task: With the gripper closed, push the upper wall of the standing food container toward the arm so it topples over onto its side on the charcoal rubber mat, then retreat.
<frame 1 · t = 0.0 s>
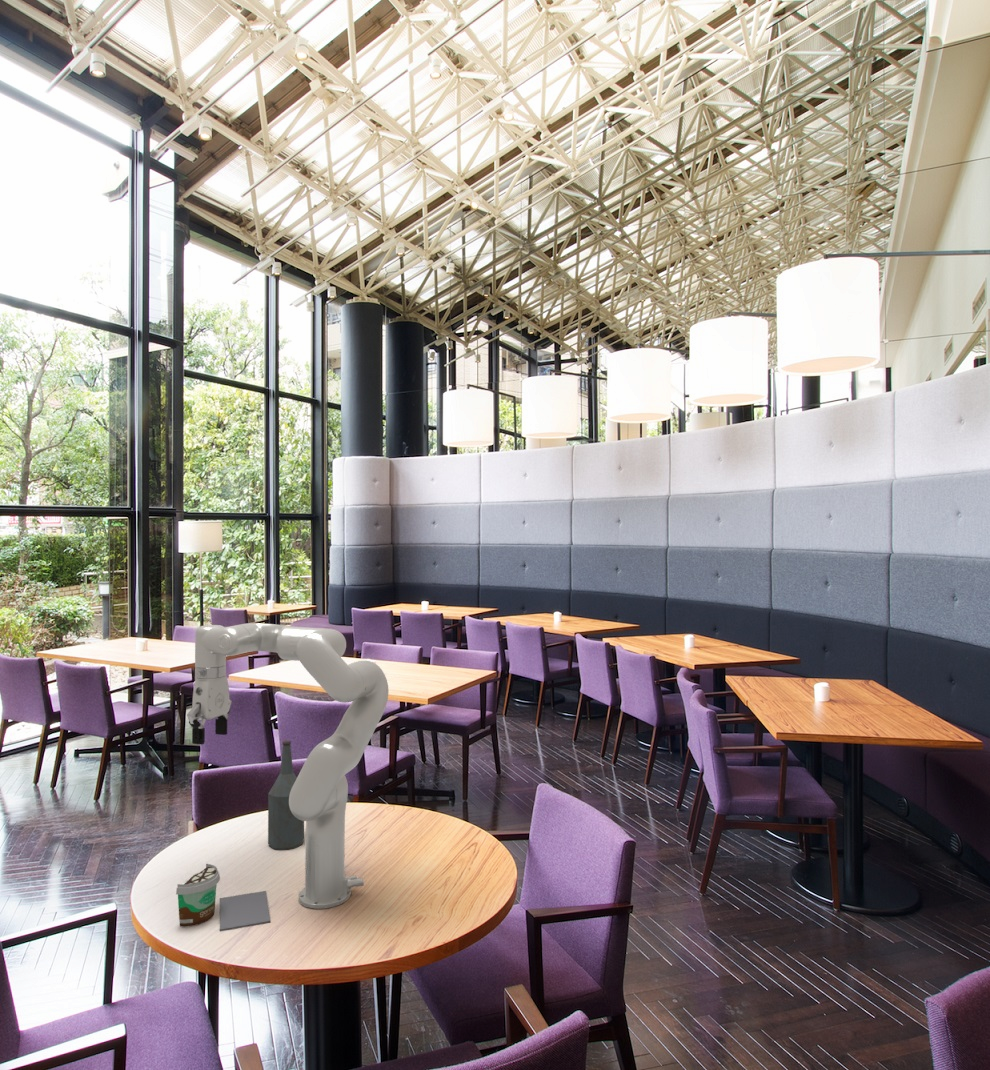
hand: (210, 738, 190), 37 cm above the table, tool pointing down, fingers open, 9 cm apart
food container: (203, 918, 172), on the table
mat: (244, 910, 175), on the table
bottle: (286, 844, 215), on the table
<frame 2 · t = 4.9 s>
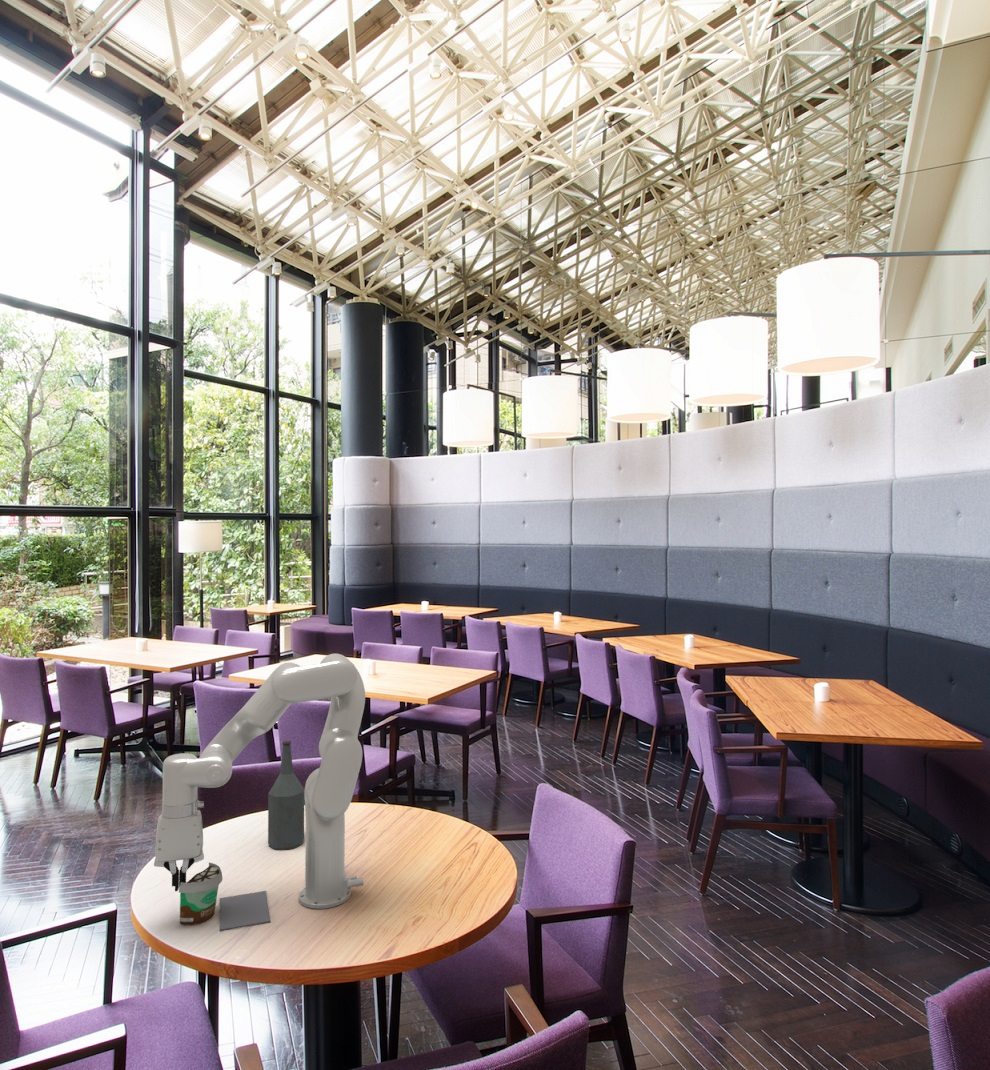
hand: (178, 888, 170), 8 cm above the table, tool pointing down, fingers closed
nothing on the table moved.
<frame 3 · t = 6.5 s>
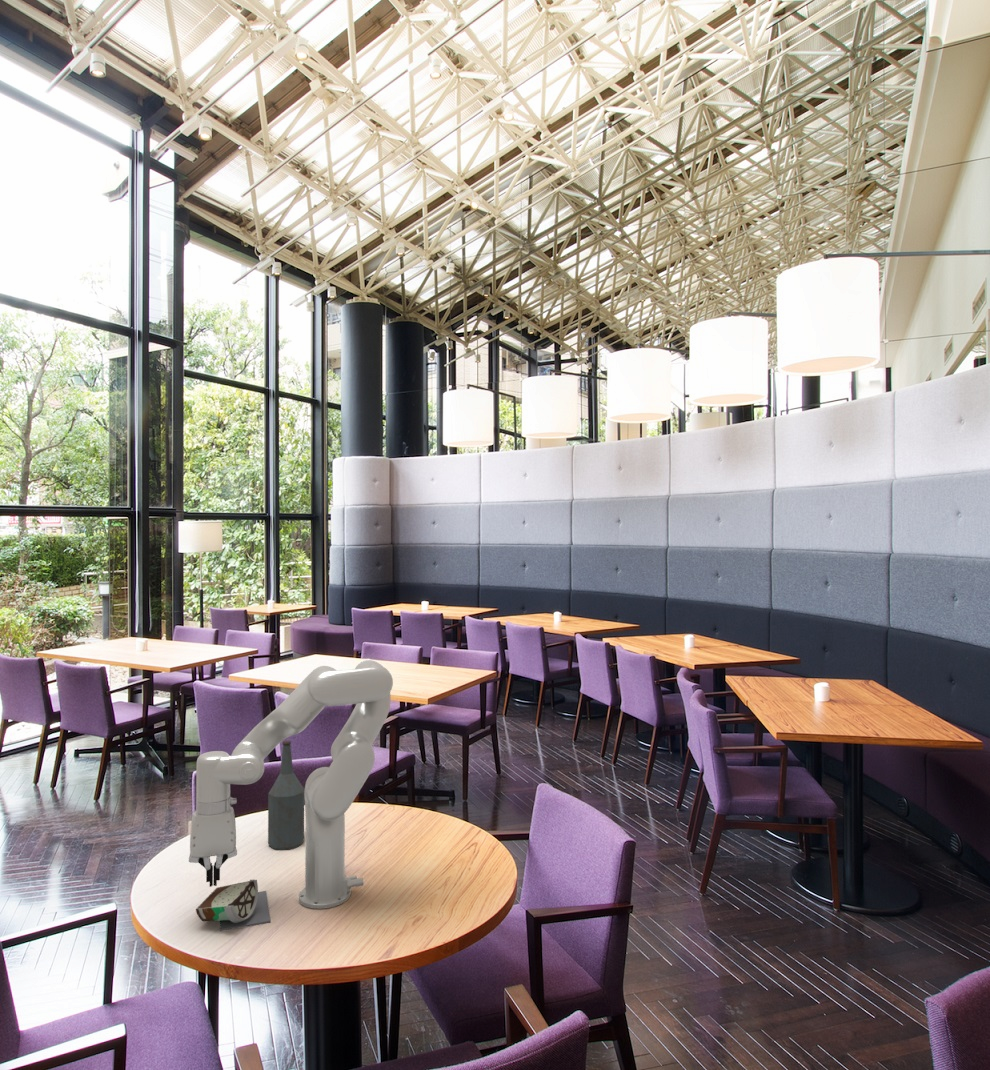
hand: (213, 883, 173), 8 cm above the table, tool pointing down, fingers closed
food container: (208, 910, 172), point 2 cm above the table, touching mat
everything else where it was.
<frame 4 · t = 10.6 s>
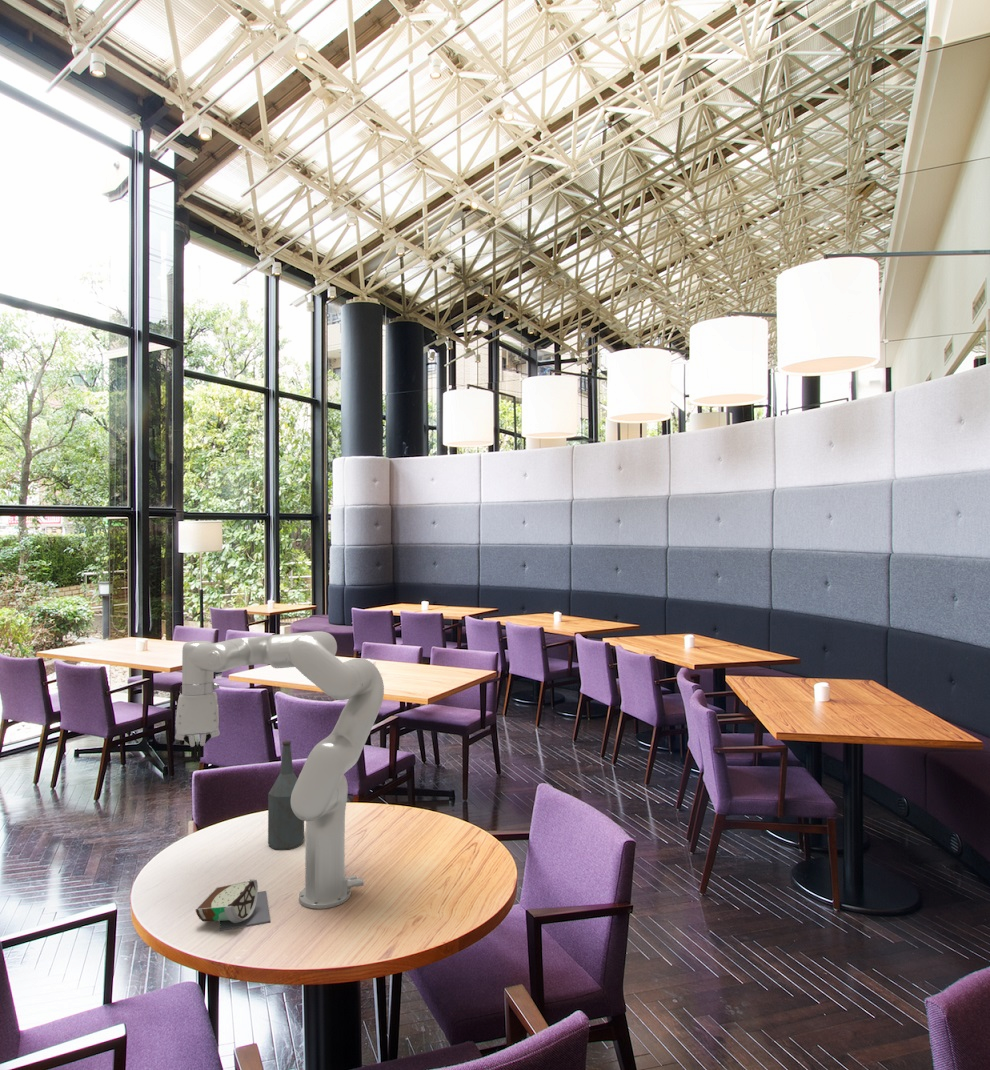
hand: (197, 760, 189), 32 cm above the table, tool pointing down, fingers closed
nothing on the table moved.
at the end: food container tilted 78°; food container inside the target area (8.1 cm from its centre), point 1.8 cm above the table; the gripper is holding nothing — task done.
